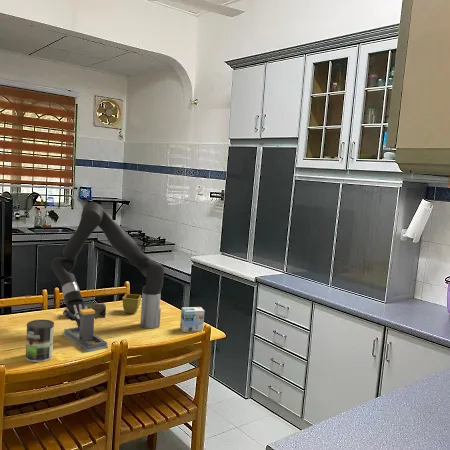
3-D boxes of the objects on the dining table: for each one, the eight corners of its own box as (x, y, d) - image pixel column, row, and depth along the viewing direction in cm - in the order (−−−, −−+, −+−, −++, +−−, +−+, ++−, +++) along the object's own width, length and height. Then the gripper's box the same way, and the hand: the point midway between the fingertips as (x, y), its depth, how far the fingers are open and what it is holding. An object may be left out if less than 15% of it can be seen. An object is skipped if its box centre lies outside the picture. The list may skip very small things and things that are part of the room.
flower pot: (137, 315, 248) (138, 299, 247) (121, 314, 248) (122, 297, 247) (140, 310, 257) (141, 294, 256) (125, 309, 257) (126, 293, 256)
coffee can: (40, 364, 179) (41, 329, 178) (19, 358, 183) (20, 324, 181) (58, 355, 189) (59, 322, 187) (38, 350, 192) (39, 317, 191)
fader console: (63, 334, 212) (63, 329, 211) (83, 330, 218) (83, 325, 218) (86, 352, 194) (86, 346, 194) (107, 347, 201) (108, 342, 200)
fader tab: (78, 338, 205) (79, 310, 203) (89, 336, 208) (91, 308, 207) (82, 341, 202) (83, 312, 200) (93, 339, 206) (95, 310, 204)
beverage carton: (106, 318, 240) (106, 306, 239) (67, 319, 233) (67, 306, 233) (104, 313, 247) (105, 301, 246) (67, 314, 241) (67, 302, 240)
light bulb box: (183, 332, 227) (184, 311, 226) (179, 327, 234) (180, 307, 232) (203, 331, 231) (205, 310, 230) (199, 326, 238) (200, 306, 236)
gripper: (82, 296, 220) (92, 329, 212) (55, 299, 211) (64, 333, 203) (88, 288, 216) (98, 321, 208) (60, 291, 207) (70, 325, 199)
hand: (81, 327), depth 206 cm, fingers closed
